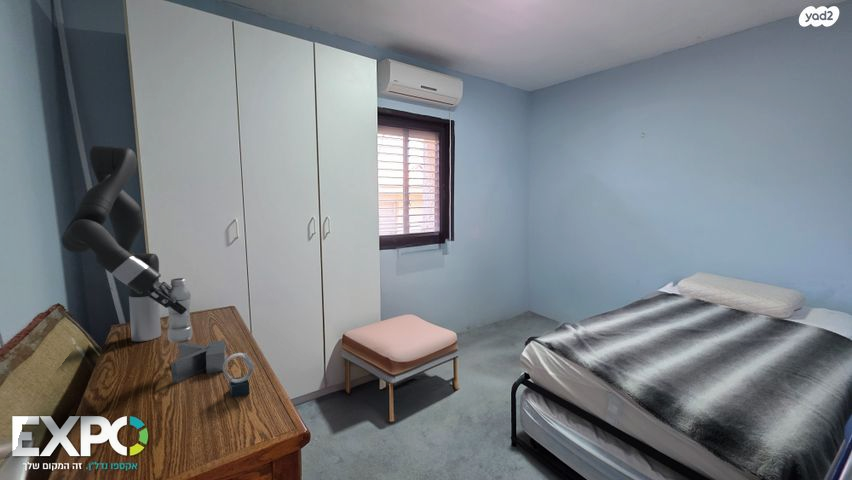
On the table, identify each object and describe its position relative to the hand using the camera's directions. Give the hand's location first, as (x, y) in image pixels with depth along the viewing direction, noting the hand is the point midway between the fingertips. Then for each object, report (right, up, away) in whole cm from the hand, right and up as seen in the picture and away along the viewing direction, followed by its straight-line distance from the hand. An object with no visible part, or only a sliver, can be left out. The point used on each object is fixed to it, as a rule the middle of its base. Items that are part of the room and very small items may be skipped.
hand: (185, 309), depth 114 cm
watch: (+23, -21, -11) cm, 33 cm away
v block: (+3, -20, +3) cm, 20 cm away
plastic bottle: (-2, -10, 0) cm, 11 cm away
